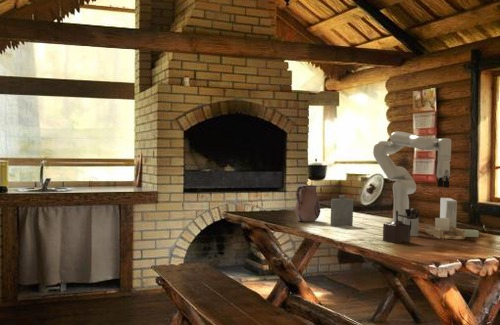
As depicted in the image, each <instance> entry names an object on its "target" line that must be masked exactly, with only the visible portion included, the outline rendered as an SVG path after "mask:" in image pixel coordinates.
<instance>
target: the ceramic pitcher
mask: <svg viewBox="0 0 500 325" xmlns="http://www.w3.org/2000/svg"><path fill="white" fill-rule="evenodd" d="M317 188H318V186H317V185H313V184H311V185H309V184H307V185H306V184H299V186H297V189H296V192H295V193H296V195H295V196H296V203H295V208H294V211H295V212H294V213H295V216H296V218H297V219H298V220H299V221H300V222H305V223H306V222H307V223H310V222H315V221H317V219H319V218H320V215H321V204H320V200H319V196H318V193H317Z"/></svg>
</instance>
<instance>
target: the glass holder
mask: <svg viewBox="0 0 500 325" xmlns="http://www.w3.org/2000/svg"><path fill="white" fill-rule="evenodd" d="M411 209H412V208H409V209H405V212H404V213H405V216H410V215H411V212H410V210H411ZM416 210H417V211H418V213H417V214H416V215H415V217H413V218H406V217H405V224H407V225H410V237H419V236H420V234H419V225H420V224H419V222H420V221H419V219H420V218H419V216H420V214H419V209H416ZM404 213H403V214H404ZM403 214H402V215H403ZM402 222H403V217H402ZM403 223H404V222H403Z"/></svg>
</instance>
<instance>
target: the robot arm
mask: <svg viewBox="0 0 500 325" xmlns="http://www.w3.org/2000/svg"><path fill="white" fill-rule="evenodd" d="M389 138H390V141H387V140H380V141H377V142H376V143H375V144H374V146H373V148H372V149H373V152H372V154H373V157H374V159H375V161H376V163H378V166H380V168H381V171H383V173H384V175H385V176H386V177H387V178H388V180H389V181H392V182H394V181H395V182H394V183H393V184H392V193H393V210H392V212H393V213H392V214H393V215H392V218H393V219H392V220H391V221H389V222H387V221H385V223H384V224H386V223H391V222H393V221H396V211H398V214H399V215H402V214H403V213H404V212H405V209H410V199H409V195H411V194H412V195H413V194H414V193H415V192H416V190H417V184H416V182H415V180H414V178H413V177H412V176H411V174H410V173H409V171H408V170H407V169H406V168H405V167H404V166H399V165H398V166H397V165H396V164H395V163H394V161H393V159H391V157H390V156H389V155H394V154H396V153H398V152H399V151H400V150H402V149H403V148H405V147H409V148H415V149H419V150H425V151H434V152H436V151H437V163H436V164H437V165H436V177H437V187H438V188H442V187H443V188H446V189H447V188H450V179H451V177H450V176H451V163H450V162H451V161H452V160H451V159H452V157H451V156H452V139H451V138H446V137H445V138H436V137H435V138H434V137H425V136H419V135H416V134H415V133H410V132H409V133H408V132H405V131H399V130H398V131H396V130H395V131H394V132H392V133H391V134H390V137H389ZM403 215H404V216H405V213H404V214H403ZM398 221H402V217H401V216H398ZM403 222H404V224H405V217H403Z"/></svg>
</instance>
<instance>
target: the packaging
mask: <svg viewBox="0 0 500 325" xmlns="http://www.w3.org/2000/svg"><path fill="white" fill-rule="evenodd" d="M439 207H440V208H439V209H440V211H439V218H449V225H450V226H453V227H456V228H457V214H458V213H457V211H458V200H456V199H453V198H451V197H440V203H439Z"/></svg>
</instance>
